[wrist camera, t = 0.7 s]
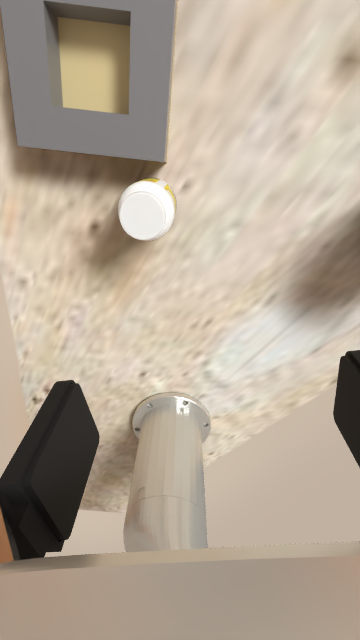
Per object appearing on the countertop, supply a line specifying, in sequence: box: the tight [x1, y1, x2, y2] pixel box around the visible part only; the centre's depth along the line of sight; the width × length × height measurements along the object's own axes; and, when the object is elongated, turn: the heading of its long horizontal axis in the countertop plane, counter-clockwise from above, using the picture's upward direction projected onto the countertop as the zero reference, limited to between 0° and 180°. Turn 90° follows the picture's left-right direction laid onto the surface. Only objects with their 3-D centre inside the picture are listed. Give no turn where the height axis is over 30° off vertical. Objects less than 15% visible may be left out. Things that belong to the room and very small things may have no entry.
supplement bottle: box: [118, 178, 176, 241], centre depth 31 cm, size 5×5×10 cm
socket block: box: [0, 0, 178, 163], centre depth 28 cm, size 14×14×4 cm
